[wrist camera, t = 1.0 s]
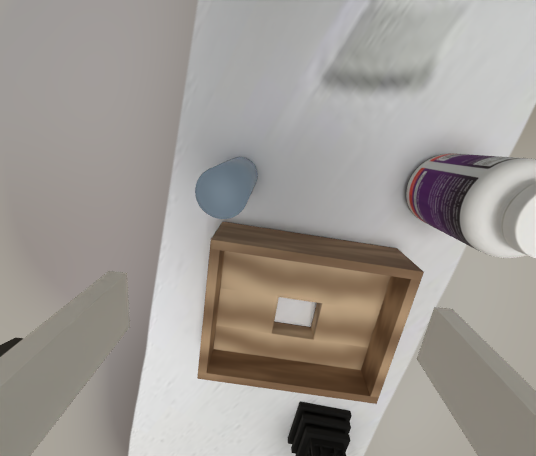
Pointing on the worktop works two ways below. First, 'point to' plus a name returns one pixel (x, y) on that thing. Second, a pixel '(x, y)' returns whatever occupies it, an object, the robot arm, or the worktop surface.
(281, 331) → the box
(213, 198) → the peg
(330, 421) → the chess piece
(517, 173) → the pill bottle
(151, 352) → the worktop surface
